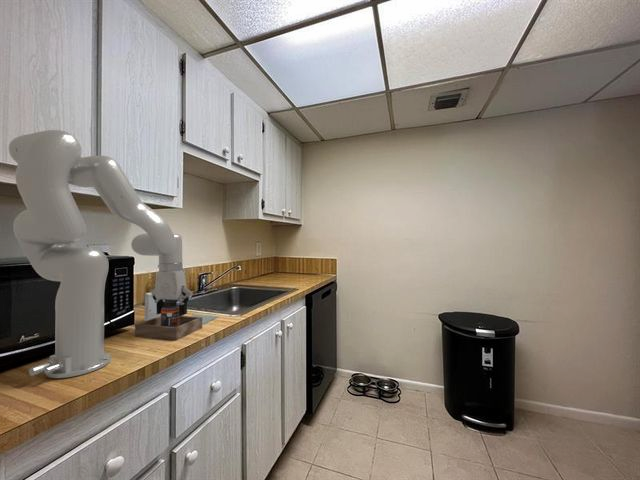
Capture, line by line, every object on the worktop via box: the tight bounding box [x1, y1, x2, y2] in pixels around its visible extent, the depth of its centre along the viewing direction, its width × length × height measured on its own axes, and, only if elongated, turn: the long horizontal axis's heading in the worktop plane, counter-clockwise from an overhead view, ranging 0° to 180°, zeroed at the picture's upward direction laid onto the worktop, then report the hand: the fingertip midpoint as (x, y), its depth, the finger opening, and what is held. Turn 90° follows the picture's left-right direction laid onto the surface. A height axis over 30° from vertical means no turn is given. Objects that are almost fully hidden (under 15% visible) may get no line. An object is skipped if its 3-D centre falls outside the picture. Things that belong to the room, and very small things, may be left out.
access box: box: [134, 315, 203, 341], centre depth 96 cm, size 13×17×4 cm
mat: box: [190, 314, 219, 326], centre depth 110 cm, size 12×12×1 cm
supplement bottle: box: [161, 300, 179, 327], centre depth 96 cm, size 6×6×11 cm
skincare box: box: [144, 292, 165, 321], centre depth 107 cm, size 6×4×12 cm
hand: (171, 313), depth 97 cm, fingers open, 9 cm apart
